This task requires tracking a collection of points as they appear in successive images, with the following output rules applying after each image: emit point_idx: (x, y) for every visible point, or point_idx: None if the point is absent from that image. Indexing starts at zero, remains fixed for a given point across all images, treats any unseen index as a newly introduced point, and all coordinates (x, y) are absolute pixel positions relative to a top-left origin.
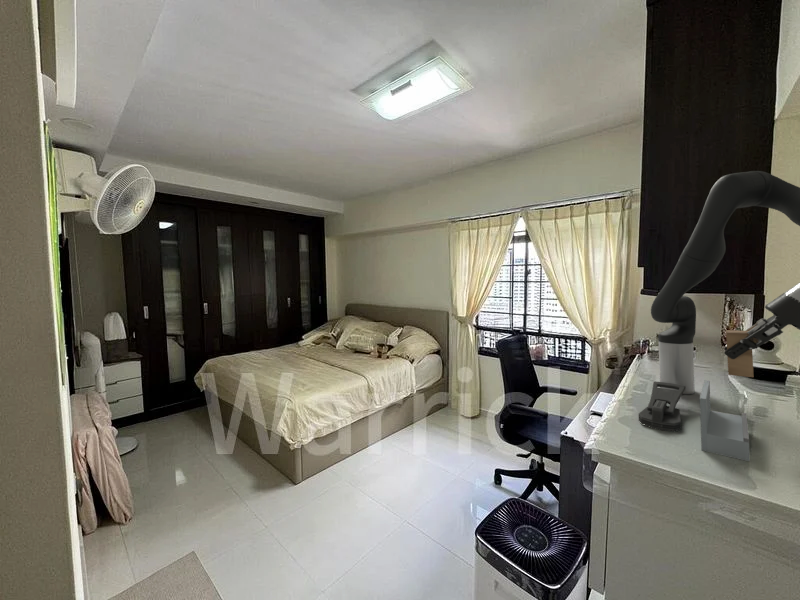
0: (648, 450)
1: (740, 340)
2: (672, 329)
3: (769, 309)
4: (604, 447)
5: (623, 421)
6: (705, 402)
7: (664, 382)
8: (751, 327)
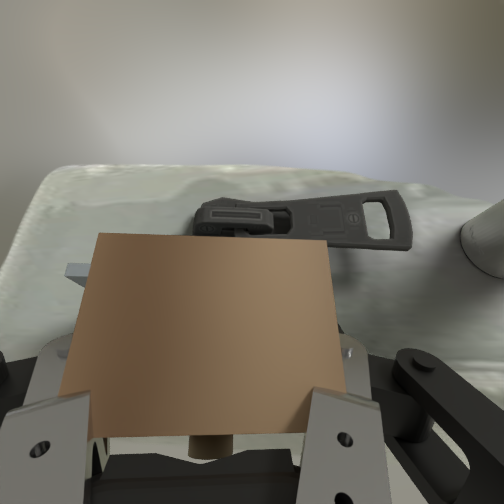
0: (76, 232)
1: (64, 341)
2: None
3: None
4: (55, 180)
5: (201, 187)
6: (70, 278)
7: (404, 208)
8: (304, 459)
